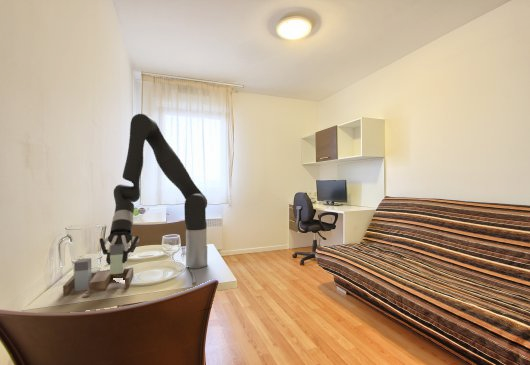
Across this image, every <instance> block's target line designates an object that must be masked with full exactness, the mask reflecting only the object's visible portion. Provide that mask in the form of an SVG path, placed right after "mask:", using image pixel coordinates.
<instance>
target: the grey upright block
mask: <svg viewBox="0 0 530 365" xmlns="http://www.w3.org/2000/svg"><path fill="white" fill-rule="evenodd" d="M109 247H110V246H109ZM123 252H124V244H114V245H111V247H110V265H109V270H110V274H119V273H123V271H124V269H125V268H126V267H125V264H126V262H125V263H122V258H123Z"/></svg>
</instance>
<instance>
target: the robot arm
mask: <svg viewBox="0 0 530 365" xmlns="http://www.w3.org/2000/svg"><path fill="white" fill-rule="evenodd" d="M129 124H130V126H129V127H130V128H129V139H128V150H127V156H126V159H125V160H126V161H125V165H124V167H123V173H122V178H123V180H126V181H128V182H131V184H132V185H127V184H117V185H116V186H115V187H114V189H113V198H114V202H115V208H114V214H113V217H112V220H111V226H110V231H109V234H108V236H107V237H106V238H102V237H101V238H99V244H100V248H101V252H102V255H106V259H105V261H106V264H108V265H109V266H110V247H111V245H114V244H124V252H123V258H122V263H125V264H126V262H127V261H128V257H129V254H130V253H134V252H135V251H136V250H135V249H136V247H137V245H138V244H139V242H140V237H139V236H138V235H136V236H133V225H134V213H135V212H134V211H135V204H134V203H136V202H138V201H139V199H140V197H141V188H140V185H141V184H140V180H141V175H142V172H143V167H144V147H145V142H147V143H148V145H149V147H151V150H152V151H153V154H154V157H155V161H156V163H157V165H158V166H159V168H160V170H161V171H162V173H163V174H164V176H165V177H166V178H167V179H168V180H169V181H170V183H172V184H173V185H174V186H175V187H176V188H177V189H178V190H179V191H180V193H181V194H182V196H183V198H184V199H185V201H184V206H183V207H184V223H185V266H188V267H189V268H188V267H187V268H188V269H192V270H193V269H202V268H204V267H207V266H208V245H207V244H208V242H207V238H208V237H207V231H208V230H207V228H208V227H207V226H208V224H207V223H208V222H207V219H206V217H207V216H206V215H207V214H206V212H207V211H206V209H207V206H208V200H207V198H206V195H204V194H203V192H202V191H201V190H200V189H199V188H198V186H197V185H196V184H195V183H194V181H193V179H192V178H191V176H190V174H189V172H188V171H187V168H186V167H185V166H184V164H183V162H182V161H181V160H180V157H179V156H178V155H177V154H176V152H175V151H174V149H173V148H172V146H170V143H168V141H167V140H166V139H165V137H164V135H163V133H162V131H161V130H160V128H159V126H158V123H157V122H156V120H154V119H153V118H152V117H151V116H148V115H147V114H144V113H137V114H134V116H133V117H132V118H131V121H130V123H129ZM131 241H132V243H131V245H130V247H128V244H129V243H130V242H131ZM108 242H109V243H110V244H109V246H108V247H109V248H108V249H107V248H106V247H107V246H106V245H107V244H108Z"/></svg>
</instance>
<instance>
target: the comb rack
mask: <svg viewBox="0 0 530 365" xmlns="http://www.w3.org/2000/svg"><path fill="white" fill-rule="evenodd" d="M91 273H92V280H91V281H90V282H89V289H88V290H81V291H75V275H74V274H73V275H72V276H71V277H70V278H69V279H68V280H67V281H66V282H65V283H64V284H63V286H62V289H63V290H62V293H63V295H62V296H63V297H68V296H77V295H83V294H91V293H98V292H105V291H106V292H107V291H114V290H120V289H128V288H130V286H131V284H130V283H132V282H133V278H134V267H125V269H124V271H123V273H119V274H110V269H105V270H98V271H91ZM113 278H123V280H125V284H121V283H119V282H116V281H115V280H113Z"/></svg>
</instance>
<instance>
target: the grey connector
mask: <svg viewBox="0 0 530 365" xmlns="http://www.w3.org/2000/svg"><path fill="white" fill-rule="evenodd" d="M73 264H74V266H73V267H74V269H73V270H74V274H73V275H75V291H81V290H88V289H89V282H90V281H91V280H92V273H91V272H92V258H91V257H87V258H79V259H77V260H75V261H74V262H73Z"/></svg>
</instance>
